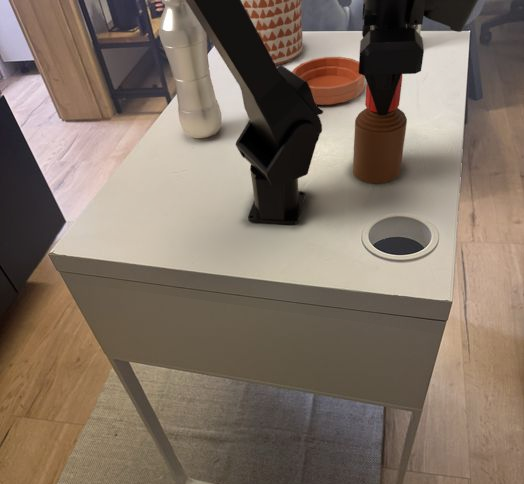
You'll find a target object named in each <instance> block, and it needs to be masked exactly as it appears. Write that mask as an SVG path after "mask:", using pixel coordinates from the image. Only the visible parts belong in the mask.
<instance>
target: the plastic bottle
mask: <svg viewBox="0 0 524 484" xmlns="http://www.w3.org/2000/svg"><path fill="white" fill-rule="evenodd" d="M161 3H162V4H164V9H163V11H162V14H161V16H160V20H159V24H158V36H159V39H160V42H161V45H162V47H163V50H164V53H165V55H166V58H167V60H168V65H169V67H170V71H171V74H172V78H173V82H174V86H175V93H176V98H177V99H176V100H177V112H178V121H179V124H180V127H181V128H182V130H183V132H184V133H185V134H186V135H187V136H188V137H190V138H194V139H203V138H208V137H212V136H214V135H216V134H217V133H218V132H219V131H220V129H221V127H222V125H223V124H222V123H223V122H222V121H223V120H222V118H223V117H222V116H223V115H222V111H221V107H220V104H219V101H218V99H217V97H216V93H215V89H214V85H213V82H212V77H211V71H210V64H209V53H208V35H207V34H206V32H205V31H204V29H203V27H202V26H201V24H200V23H199V21H198V19H197V18H196V16H195V15H194V13H193V12H192V10H191V8H190V7H189V5H188V4H187V2H186V1H185V0H161Z"/></svg>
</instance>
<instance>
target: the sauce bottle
mask: <svg viewBox="0 0 524 484" xmlns="http://www.w3.org/2000/svg"><path fill="white" fill-rule="evenodd" d="M407 124H408V119H407V116H406V113H405V112H403V111H402V109H400V108H399V107H398V108H397V109H395V110H393V111H390V112H388V114H387V115H385V116H379V115H378V113H377V112H373V111H370V110H368V109H367V108H366V107H365V108H364V109H363V110H362V111H360V112H359V113H358V114H357V116H356V117H355V119H354V136H353V137H354V140H353V155H352V161H353V162H352V174H353V176H354V177H355V178H356V179H357V180H359V181H361V182H364V183H368V184H385V183H388V182H391V181H393V180H395V179H397V178H398V176H399V175H400V173H401V169H402V162H403V161H402V160H403V155H404V146H405V140H406V130H407Z"/></svg>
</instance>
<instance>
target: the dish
mask: <svg viewBox="0 0 524 484" xmlns="http://www.w3.org/2000/svg"><path fill="white" fill-rule="evenodd" d="M292 72H293V73H294V74H296V75H297V76H299V77H300V78H302V79H303V80H305V81H306V82H307V83H308V85H309V87H310V89H311V92H312V96H313V99H314V102H315V104H316V105H317V106H318V105H319V106H330V105H337V104H342V103H345V102H347V101H349V100H352V99H355V98H357V97H358V96H359V95H361V93H363V92H364V90H365V86H366V79H365V76H364V75H361V74H359V60H356V59H354V58H350V57H343V56H323V57H318V58H313V59H310V60H306V61H305V62H302V63H300V64H299V65H297V66H296V67H294V68H293V69H292Z"/></svg>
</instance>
